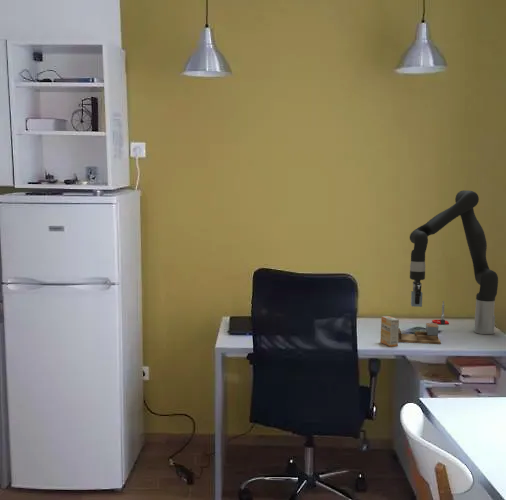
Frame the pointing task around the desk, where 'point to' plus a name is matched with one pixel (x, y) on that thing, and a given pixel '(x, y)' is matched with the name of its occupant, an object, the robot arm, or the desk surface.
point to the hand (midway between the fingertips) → (416, 302)
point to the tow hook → (441, 317)
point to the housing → (414, 299)
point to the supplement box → (389, 331)
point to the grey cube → (431, 329)
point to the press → (418, 338)
